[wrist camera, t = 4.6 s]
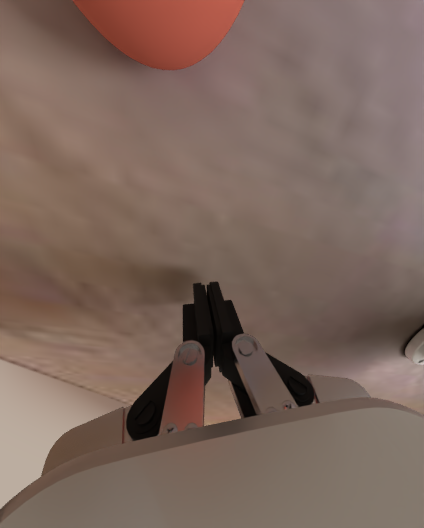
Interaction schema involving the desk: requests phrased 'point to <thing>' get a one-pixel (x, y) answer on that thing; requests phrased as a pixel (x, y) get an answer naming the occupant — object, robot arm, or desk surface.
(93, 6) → the ball
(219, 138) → the desk surface
